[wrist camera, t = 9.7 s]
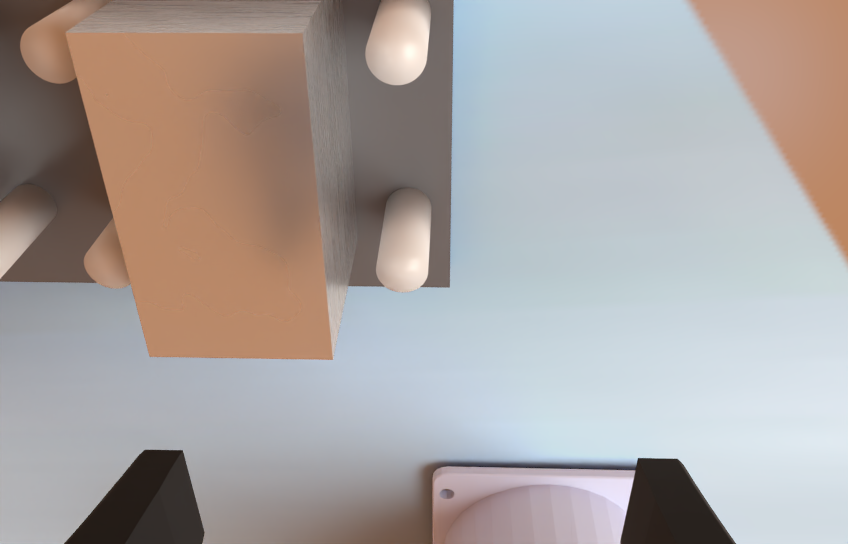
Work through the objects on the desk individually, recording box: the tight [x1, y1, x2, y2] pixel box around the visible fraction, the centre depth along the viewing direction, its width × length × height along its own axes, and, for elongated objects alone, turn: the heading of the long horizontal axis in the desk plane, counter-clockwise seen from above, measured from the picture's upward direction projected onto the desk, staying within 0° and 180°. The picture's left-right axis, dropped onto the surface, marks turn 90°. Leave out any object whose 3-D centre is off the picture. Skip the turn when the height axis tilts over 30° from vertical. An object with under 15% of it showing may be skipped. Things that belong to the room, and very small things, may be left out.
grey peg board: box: [0, 0, 453, 292], centre depth 18 cm, size 10×19×4 cm, turn 90°
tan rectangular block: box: [65, 0, 357, 360], centre depth 17 cm, size 7×4×5 cm, turn 0°
